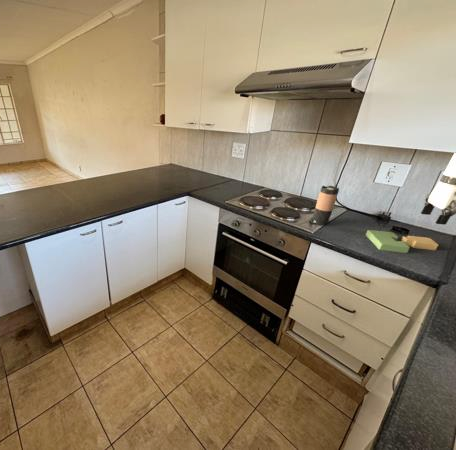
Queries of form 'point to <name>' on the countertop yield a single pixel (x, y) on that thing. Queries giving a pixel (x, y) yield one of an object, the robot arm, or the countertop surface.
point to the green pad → (387, 241)
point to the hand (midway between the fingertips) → (432, 218)
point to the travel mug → (325, 204)
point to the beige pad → (420, 242)
